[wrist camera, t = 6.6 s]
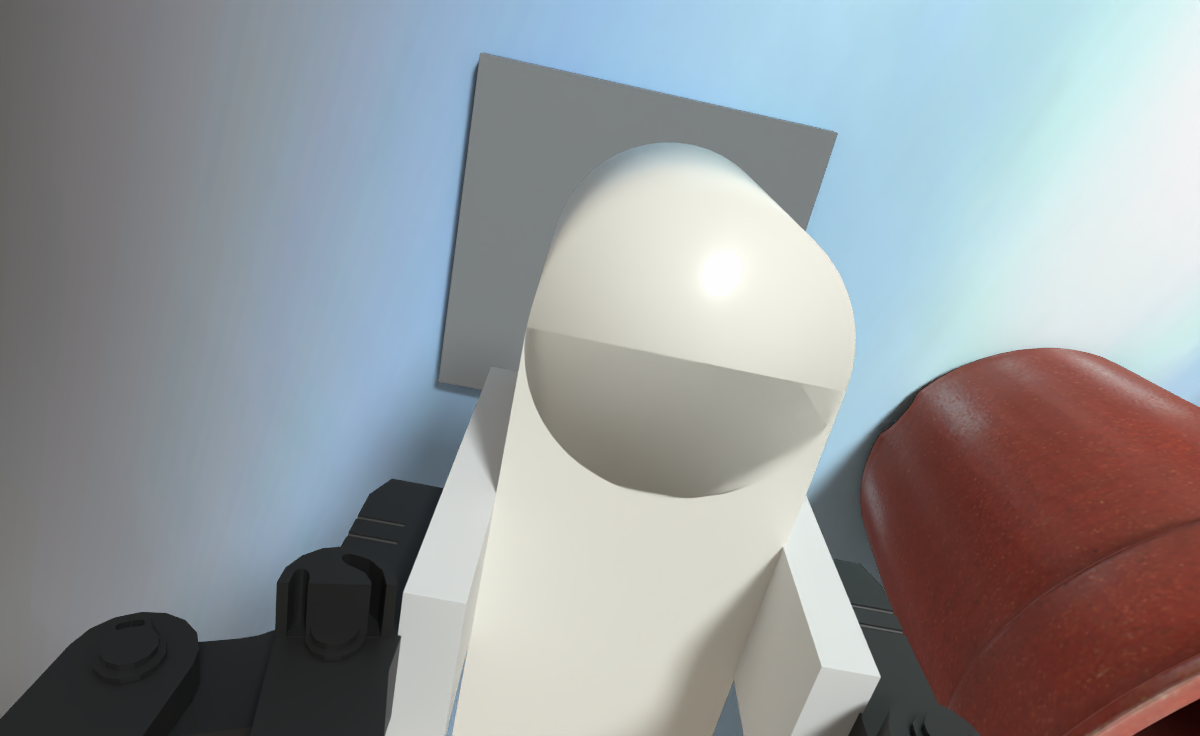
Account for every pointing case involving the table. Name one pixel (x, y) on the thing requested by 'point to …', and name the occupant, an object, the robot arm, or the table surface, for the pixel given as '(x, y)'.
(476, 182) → the coaster
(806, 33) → the table surface
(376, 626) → the robot arm
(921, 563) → the flower pot
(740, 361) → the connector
